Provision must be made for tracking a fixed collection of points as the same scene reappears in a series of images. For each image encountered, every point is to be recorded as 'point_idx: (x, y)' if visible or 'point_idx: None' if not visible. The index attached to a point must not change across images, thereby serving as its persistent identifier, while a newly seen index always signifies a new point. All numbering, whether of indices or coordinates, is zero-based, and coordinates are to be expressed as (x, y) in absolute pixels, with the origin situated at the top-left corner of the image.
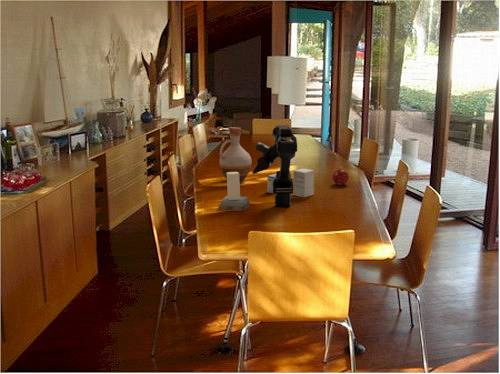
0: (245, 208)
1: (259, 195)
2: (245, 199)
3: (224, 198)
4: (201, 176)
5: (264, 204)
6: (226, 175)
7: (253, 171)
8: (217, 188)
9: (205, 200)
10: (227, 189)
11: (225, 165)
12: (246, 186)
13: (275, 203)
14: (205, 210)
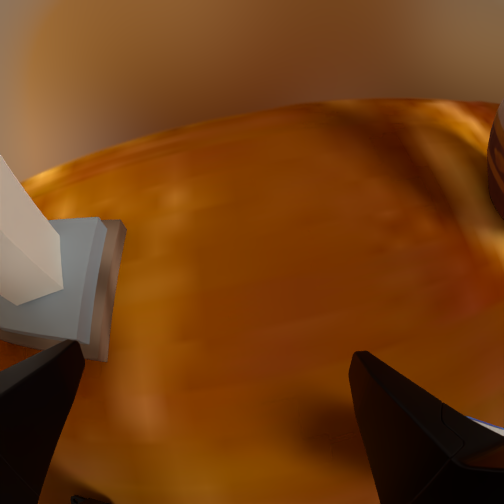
0: (18, 344)
1: (320, 390)
2: (38, 334)
3: (55, 222)
4: (484, 109)
5: (109, 444)
6: (487, 153)
7: (51, 354)
8: (391, 151)
9: (174, 146)
10: (35, 208)
11: (501, 117)
12: (473, 262)
13: (85, 500)
14: (36, 190)
